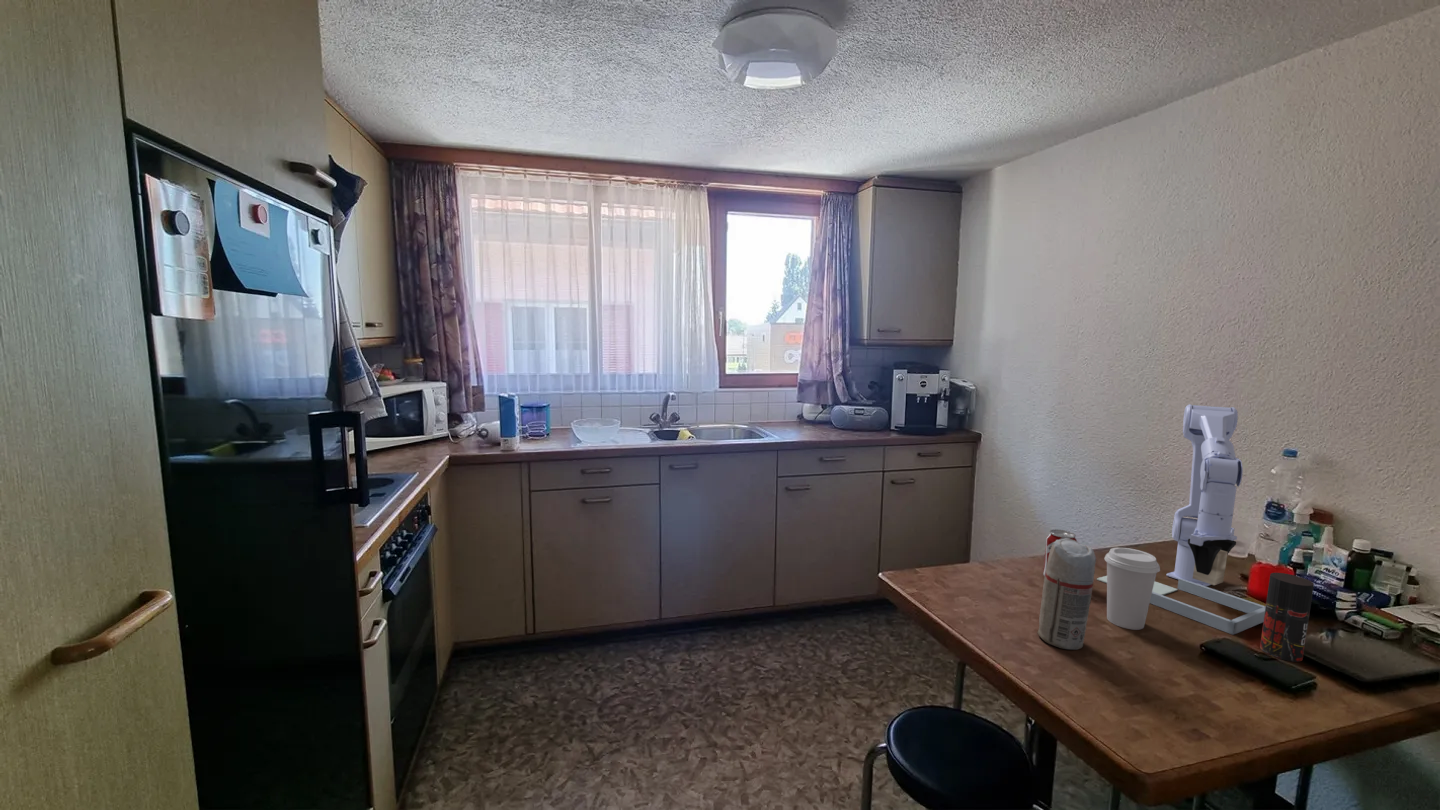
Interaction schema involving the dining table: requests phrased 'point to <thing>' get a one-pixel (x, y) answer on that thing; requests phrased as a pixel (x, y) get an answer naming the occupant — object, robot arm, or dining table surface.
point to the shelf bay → (1210, 619)
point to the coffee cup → (1129, 586)
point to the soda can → (1052, 538)
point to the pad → (1157, 587)
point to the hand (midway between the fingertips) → (1208, 571)
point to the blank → (1214, 570)
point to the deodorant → (1286, 616)
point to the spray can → (1067, 594)
